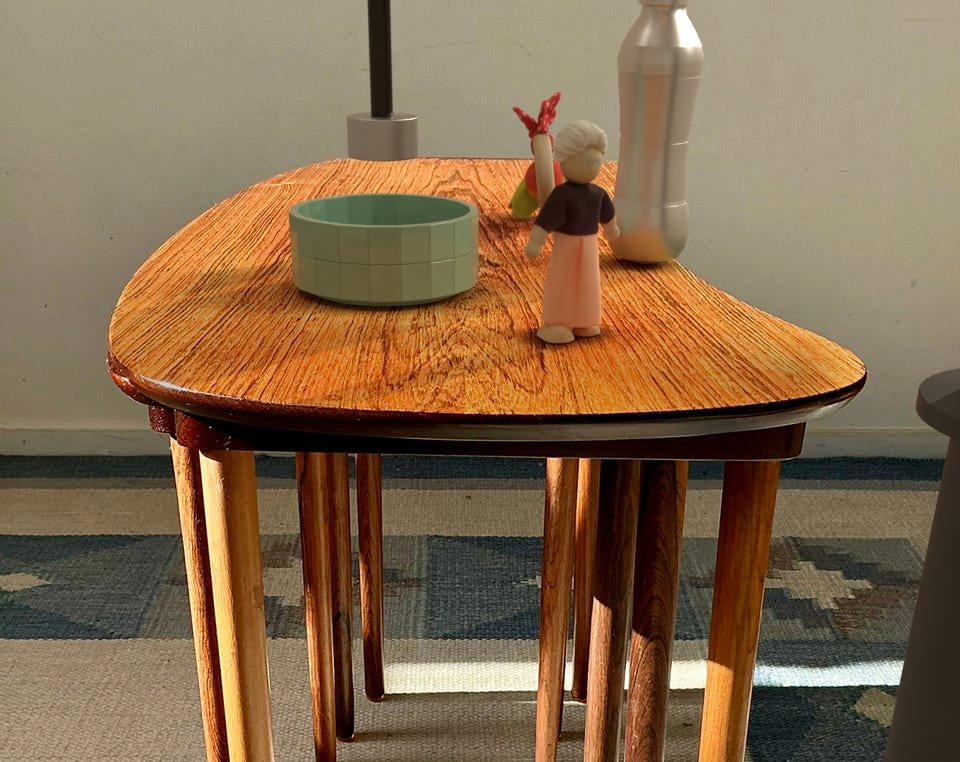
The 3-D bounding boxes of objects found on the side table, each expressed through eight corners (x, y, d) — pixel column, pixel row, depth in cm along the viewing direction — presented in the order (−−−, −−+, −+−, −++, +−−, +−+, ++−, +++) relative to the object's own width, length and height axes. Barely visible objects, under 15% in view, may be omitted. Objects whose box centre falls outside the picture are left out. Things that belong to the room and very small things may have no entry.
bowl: (496, 274, 93) (497, 198, 90) (449, 317, 81) (449, 231, 79) (331, 263, 95) (328, 189, 93) (265, 303, 84) (259, 220, 82)
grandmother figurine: (564, 351, 74) (574, 128, 68) (513, 341, 76) (518, 122, 70) (630, 326, 80) (644, 116, 74) (580, 316, 82) (591, 112, 76)
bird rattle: (582, 251, 110) (571, 193, 116) (595, 136, 101) (583, 80, 107) (513, 252, 110) (505, 194, 115) (520, 137, 101) (511, 80, 106)
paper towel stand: (426, 153, 86) (423, -163, 77) (406, 162, 81) (400, -170, 73) (361, 150, 87) (350, -162, 78) (338, 159, 82) (323, -169, 74)
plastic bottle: (676, 252, 100) (700, -25, 91) (694, 270, 94) (721, -23, 85) (598, 252, 100) (613, -25, 90) (611, 271, 94) (629, -24, 84)
